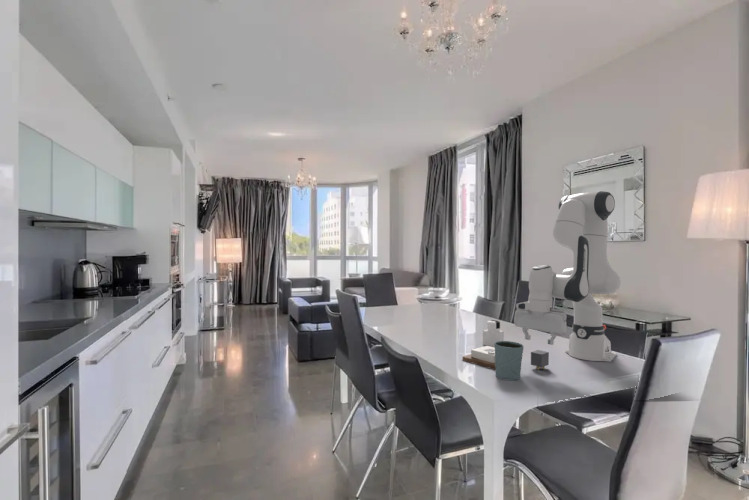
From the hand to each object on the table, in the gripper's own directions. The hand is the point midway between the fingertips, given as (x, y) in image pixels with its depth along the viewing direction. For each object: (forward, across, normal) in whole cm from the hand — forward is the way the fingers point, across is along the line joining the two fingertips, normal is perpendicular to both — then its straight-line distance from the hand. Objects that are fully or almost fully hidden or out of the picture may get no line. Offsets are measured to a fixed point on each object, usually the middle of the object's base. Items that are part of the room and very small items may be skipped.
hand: (538, 341), depth 155 cm
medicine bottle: (+11, +33, -18) cm, 39 cm away
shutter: (+6, +18, +6) cm, 20 cm away
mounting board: (+11, +18, +6) cm, 22 cm away
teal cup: (+11, +2, +17) cm, 21 cm away
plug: (+11, 0, -1) cm, 11 cm away
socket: (+10, +18, +6) cm, 21 cm away
